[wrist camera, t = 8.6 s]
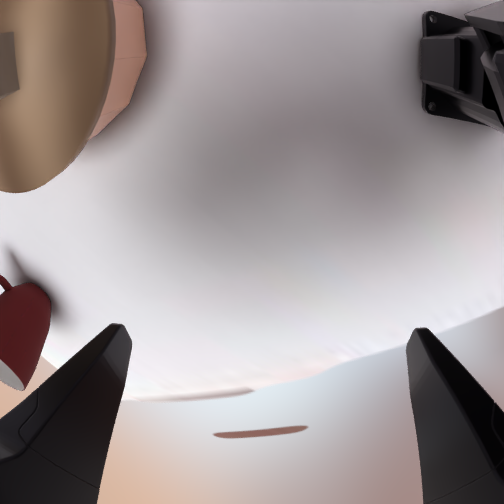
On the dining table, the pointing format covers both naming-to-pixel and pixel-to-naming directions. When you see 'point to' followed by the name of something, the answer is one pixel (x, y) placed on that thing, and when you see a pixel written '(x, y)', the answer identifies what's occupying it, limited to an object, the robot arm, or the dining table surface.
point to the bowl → (124, 60)
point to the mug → (22, 331)
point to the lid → (51, 84)
